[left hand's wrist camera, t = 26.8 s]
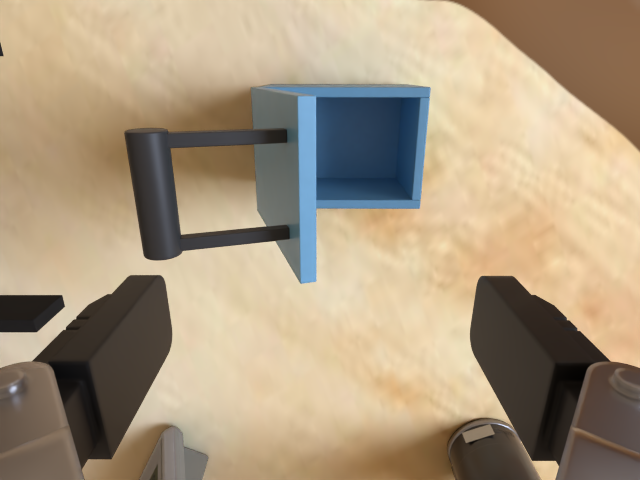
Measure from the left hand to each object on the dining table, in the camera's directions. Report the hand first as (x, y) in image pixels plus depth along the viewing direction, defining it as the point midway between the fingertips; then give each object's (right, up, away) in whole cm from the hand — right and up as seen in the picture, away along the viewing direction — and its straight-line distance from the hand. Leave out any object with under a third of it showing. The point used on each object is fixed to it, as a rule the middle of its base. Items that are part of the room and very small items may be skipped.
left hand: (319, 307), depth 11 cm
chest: (+2, +12, +31) cm, 34 cm away
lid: (-2, +6, +17) cm, 18 cm away
